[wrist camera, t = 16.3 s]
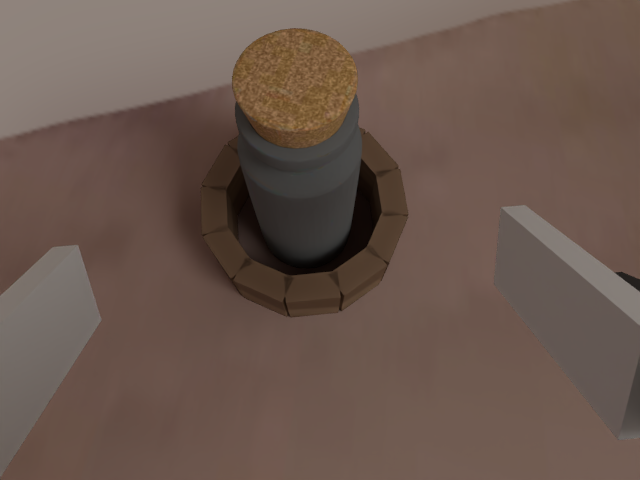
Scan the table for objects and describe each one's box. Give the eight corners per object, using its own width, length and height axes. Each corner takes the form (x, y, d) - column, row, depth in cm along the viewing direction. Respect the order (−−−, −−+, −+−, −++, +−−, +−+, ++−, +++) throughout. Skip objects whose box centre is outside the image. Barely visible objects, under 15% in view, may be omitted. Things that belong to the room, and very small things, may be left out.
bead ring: (381, 141, 34) (388, 106, 30) (409, 305, 30) (422, 289, 26) (213, 156, 34) (199, 123, 30) (217, 324, 29) (202, 311, 26)
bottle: (367, 219, 32) (403, 62, 18) (314, 286, 30) (308, 173, 16) (298, 173, 33) (281, -8, 19) (244, 235, 31) (182, 88, 17)
